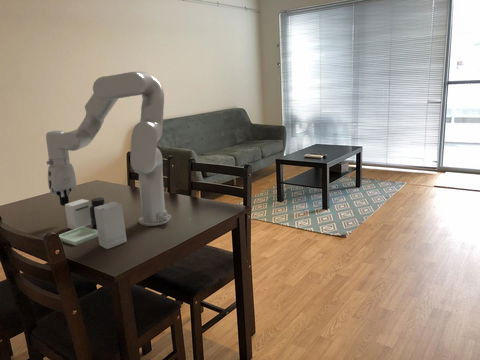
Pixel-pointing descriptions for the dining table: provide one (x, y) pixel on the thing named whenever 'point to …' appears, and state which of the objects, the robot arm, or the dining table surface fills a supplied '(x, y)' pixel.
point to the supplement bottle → (95, 203)
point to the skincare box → (110, 224)
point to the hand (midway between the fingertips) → (64, 205)
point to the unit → (78, 214)
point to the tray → (78, 235)
